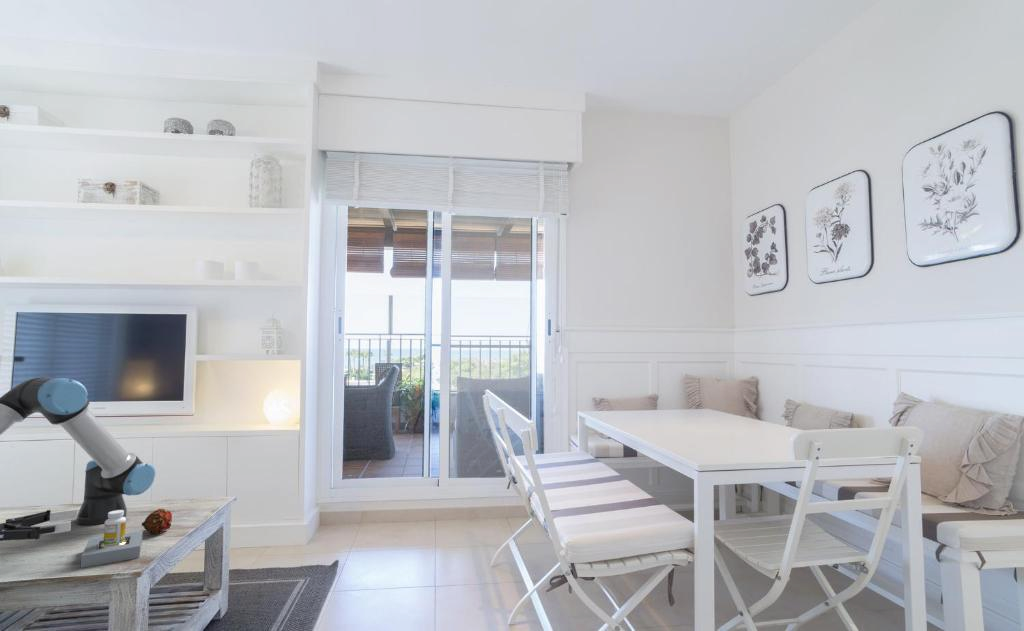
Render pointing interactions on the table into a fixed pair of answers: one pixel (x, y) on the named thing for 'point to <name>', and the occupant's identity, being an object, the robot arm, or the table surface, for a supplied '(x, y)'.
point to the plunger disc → (115, 545)
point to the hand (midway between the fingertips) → (74, 519)
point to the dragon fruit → (158, 521)
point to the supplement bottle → (114, 528)
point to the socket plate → (111, 550)
